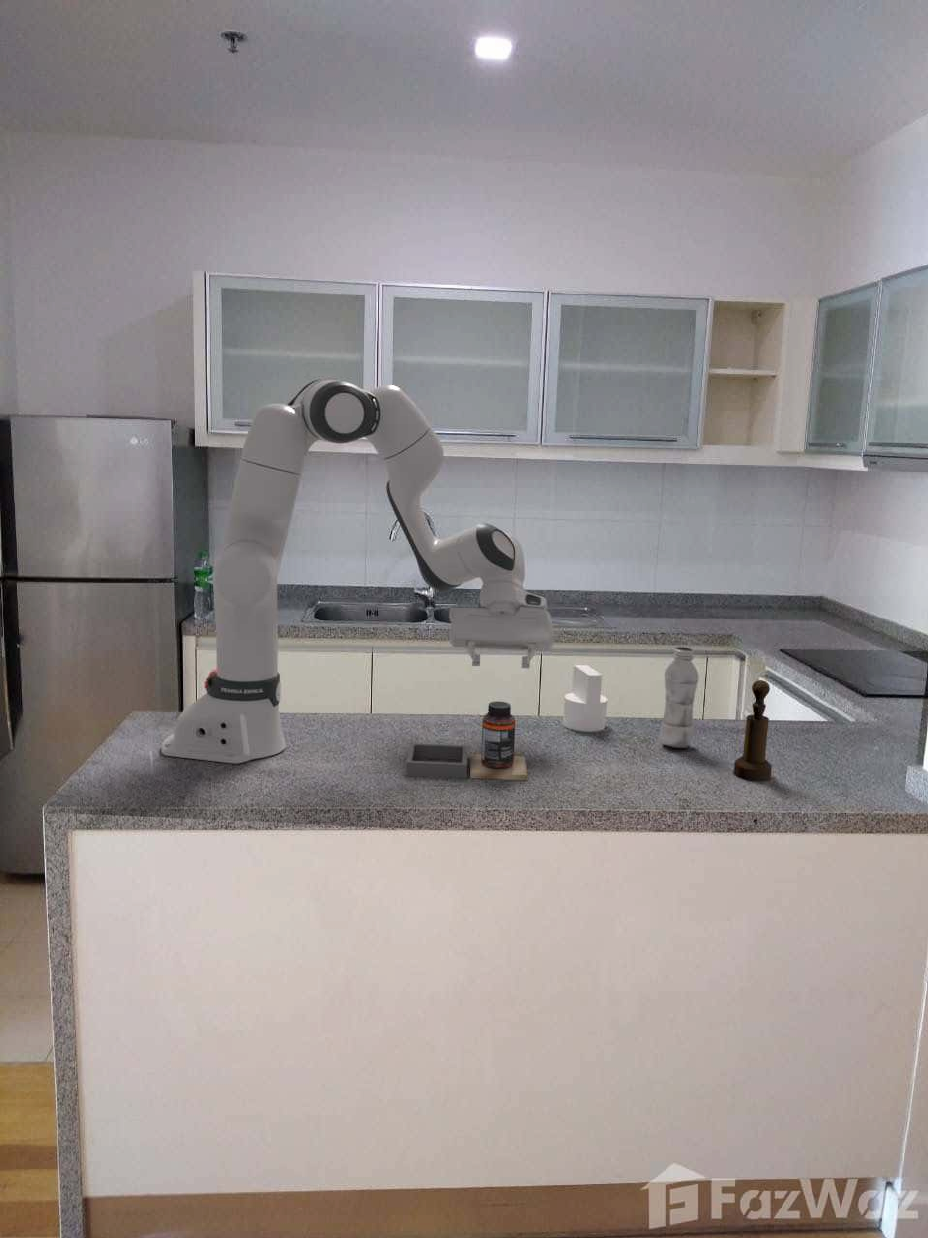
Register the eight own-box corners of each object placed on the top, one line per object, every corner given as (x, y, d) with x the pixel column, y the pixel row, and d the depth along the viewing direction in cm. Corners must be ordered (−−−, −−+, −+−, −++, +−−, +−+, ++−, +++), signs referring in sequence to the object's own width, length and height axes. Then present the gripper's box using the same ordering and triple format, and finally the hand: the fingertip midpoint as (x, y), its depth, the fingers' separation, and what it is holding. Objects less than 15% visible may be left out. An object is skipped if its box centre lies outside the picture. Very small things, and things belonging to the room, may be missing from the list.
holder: (406, 775, 168) (406, 762, 168) (410, 755, 179) (410, 743, 178) (466, 778, 168) (466, 765, 168) (466, 758, 179) (467, 745, 178)
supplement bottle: (494, 756, 178) (497, 697, 175) (520, 764, 174) (523, 704, 172) (473, 764, 173) (476, 703, 171) (500, 772, 169) (503, 710, 167)
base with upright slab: (612, 730, 200) (616, 675, 198) (571, 732, 198) (575, 676, 195) (595, 718, 208) (599, 664, 206) (556, 719, 206) (560, 665, 204)
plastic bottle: (687, 754, 187) (696, 654, 183) (654, 747, 190) (662, 649, 186) (697, 745, 192) (706, 648, 188) (664, 739, 195) (672, 643, 192)
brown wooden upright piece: (759, 768, 180) (769, 676, 177) (777, 780, 174) (788, 685, 170) (727, 769, 179) (736, 676, 175) (744, 782, 172) (754, 685, 169)
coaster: (470, 778, 169) (470, 772, 168) (470, 759, 178) (470, 754, 178) (526, 780, 169) (527, 775, 168) (524, 761, 178) (524, 756, 178)
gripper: (449, 594, 187) (446, 654, 179) (554, 599, 187) (555, 659, 179) (449, 612, 192) (446, 671, 184) (551, 617, 192) (552, 676, 184)
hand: (500, 665), depth 182 cm, fingers open, 8 cm apart
